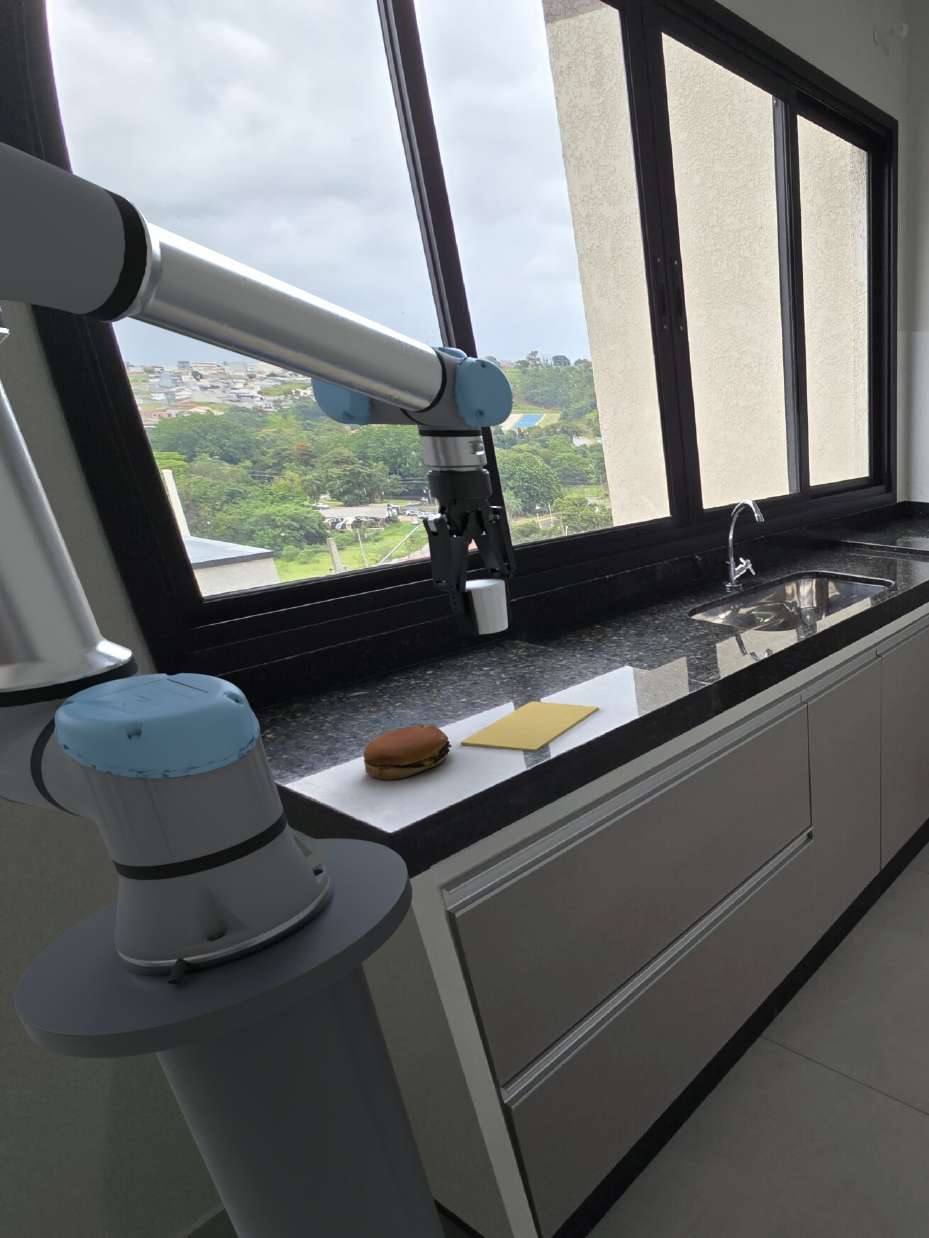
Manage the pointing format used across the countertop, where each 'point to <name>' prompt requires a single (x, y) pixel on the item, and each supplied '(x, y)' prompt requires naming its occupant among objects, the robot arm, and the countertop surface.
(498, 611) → the shot glass
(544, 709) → the cloth
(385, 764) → the burger
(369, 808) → the countertop surface
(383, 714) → the countertop surface
